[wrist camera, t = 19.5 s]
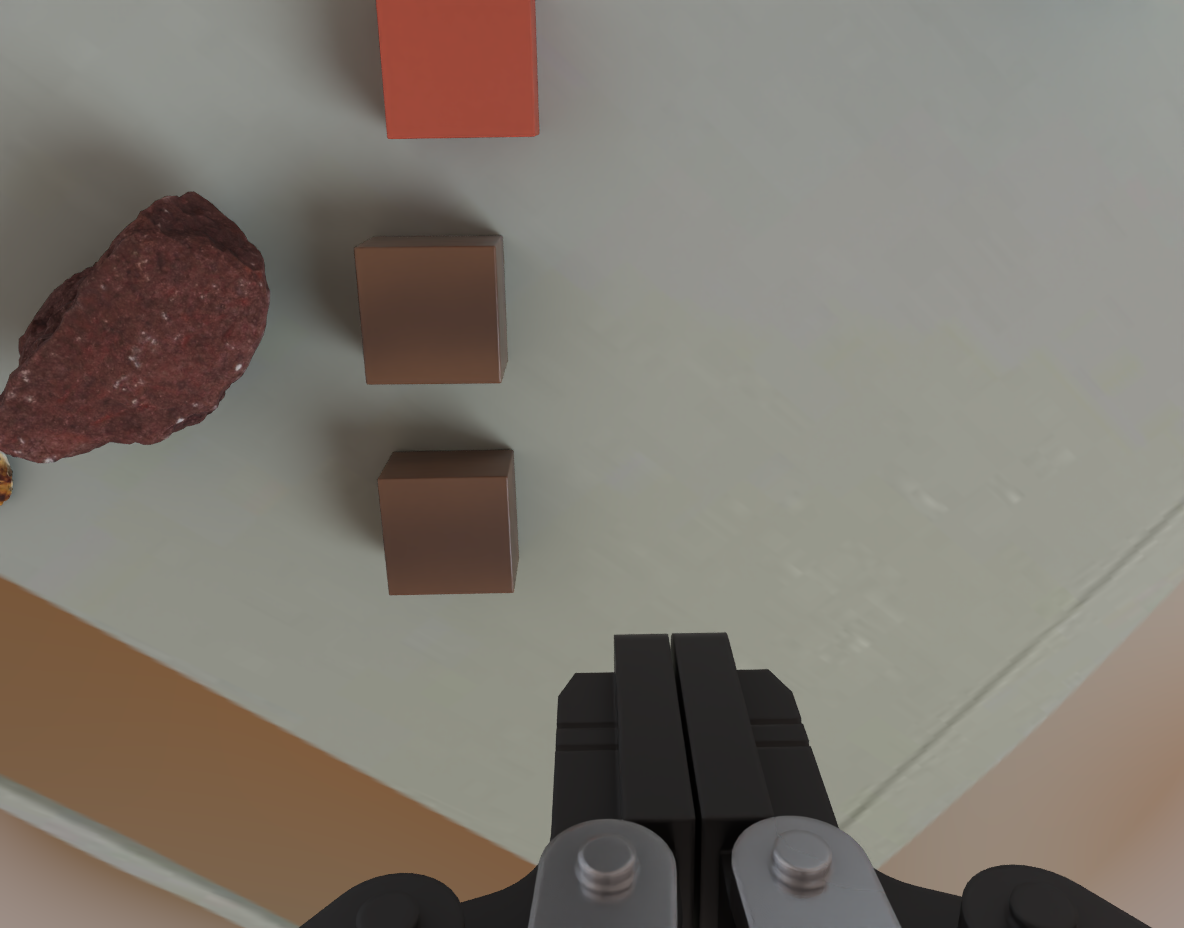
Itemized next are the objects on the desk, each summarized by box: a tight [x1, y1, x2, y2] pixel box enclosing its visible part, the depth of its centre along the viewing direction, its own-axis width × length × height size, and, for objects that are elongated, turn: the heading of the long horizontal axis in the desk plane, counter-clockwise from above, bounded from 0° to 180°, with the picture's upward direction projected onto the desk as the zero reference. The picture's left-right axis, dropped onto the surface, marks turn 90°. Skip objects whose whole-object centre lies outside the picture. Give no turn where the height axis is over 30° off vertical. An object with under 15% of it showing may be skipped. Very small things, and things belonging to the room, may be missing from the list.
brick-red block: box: [376, 0, 539, 139], centre depth 33 cm, size 5×5×3 cm
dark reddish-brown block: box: [377, 450, 519, 595], centre depth 39 cm, size 5×5×3 cm
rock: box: [0, 192, 270, 463], centre depth 35 cm, size 11×6×8 cm
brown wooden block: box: [354, 235, 508, 385], centre depth 36 cm, size 5×5×3 cm
